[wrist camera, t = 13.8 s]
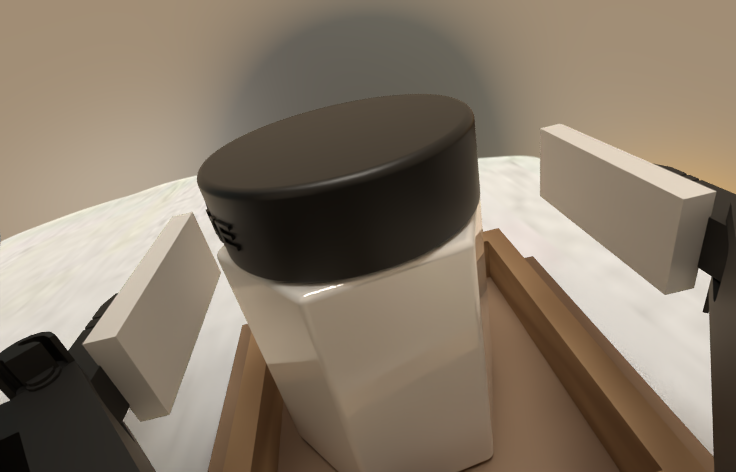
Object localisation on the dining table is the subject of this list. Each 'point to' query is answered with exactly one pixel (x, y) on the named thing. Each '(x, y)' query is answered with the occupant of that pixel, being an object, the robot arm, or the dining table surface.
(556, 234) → the dining table surface
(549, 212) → the dining table surface
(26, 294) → the dining table surface
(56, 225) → the dining table surface
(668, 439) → the wooden tray
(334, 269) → the jar
